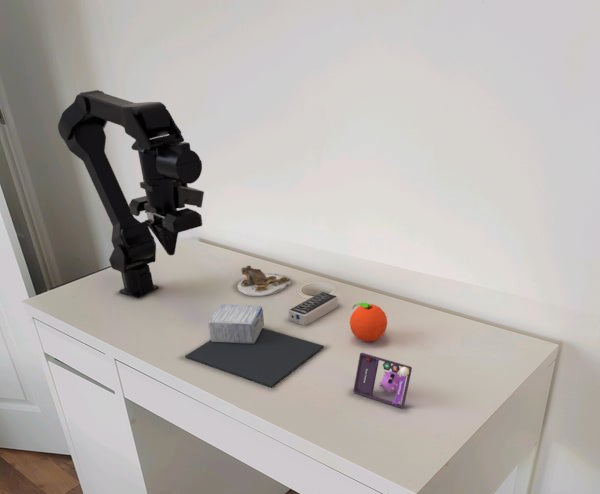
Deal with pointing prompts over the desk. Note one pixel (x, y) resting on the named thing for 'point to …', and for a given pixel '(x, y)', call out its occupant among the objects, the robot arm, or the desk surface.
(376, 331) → the clementine
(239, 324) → the medicine box
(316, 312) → the multiport hub
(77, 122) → the robot arm
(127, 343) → the desk surface
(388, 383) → the game card
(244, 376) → the mouse mat
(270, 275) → the frog figurine
